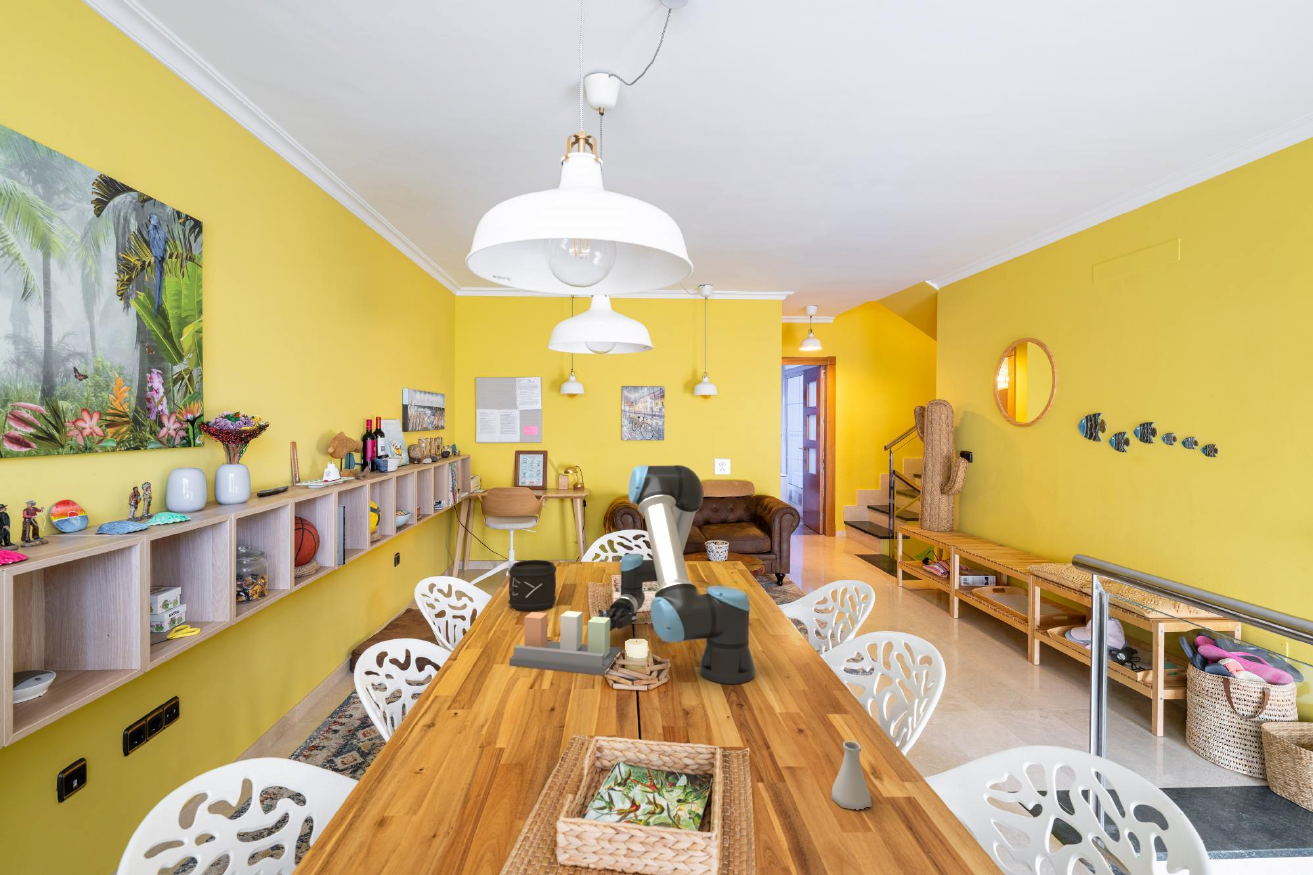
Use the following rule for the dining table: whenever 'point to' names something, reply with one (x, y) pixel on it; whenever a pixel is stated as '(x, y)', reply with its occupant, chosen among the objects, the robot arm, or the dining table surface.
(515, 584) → the black lettered canister
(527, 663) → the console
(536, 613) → the salmon orange block
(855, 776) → the flask
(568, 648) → the grey key
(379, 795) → the dining table surface
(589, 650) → the sage key
